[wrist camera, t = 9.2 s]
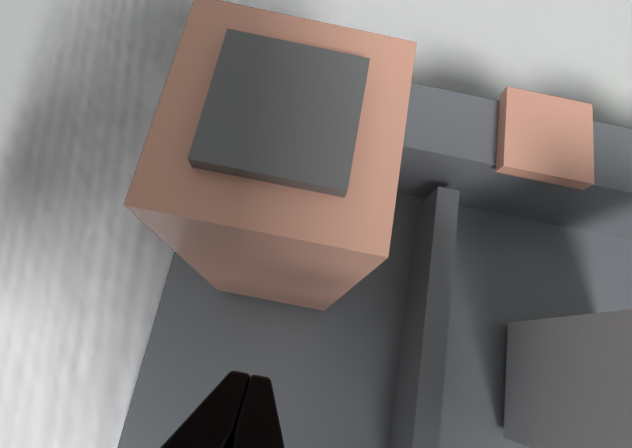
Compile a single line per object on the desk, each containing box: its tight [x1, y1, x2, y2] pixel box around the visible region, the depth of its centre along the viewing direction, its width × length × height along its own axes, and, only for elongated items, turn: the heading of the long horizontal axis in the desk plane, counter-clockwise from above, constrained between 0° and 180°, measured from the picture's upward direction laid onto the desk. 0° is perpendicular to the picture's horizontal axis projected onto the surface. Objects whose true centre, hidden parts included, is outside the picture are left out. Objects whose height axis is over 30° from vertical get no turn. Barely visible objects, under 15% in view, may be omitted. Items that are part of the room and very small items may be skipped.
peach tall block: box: [124, 0, 417, 311], centre depth 11 cm, size 4×4×10 cm
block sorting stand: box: [117, 83, 632, 448], centre depth 15 cm, size 14×30×6 cm, turn 80°
